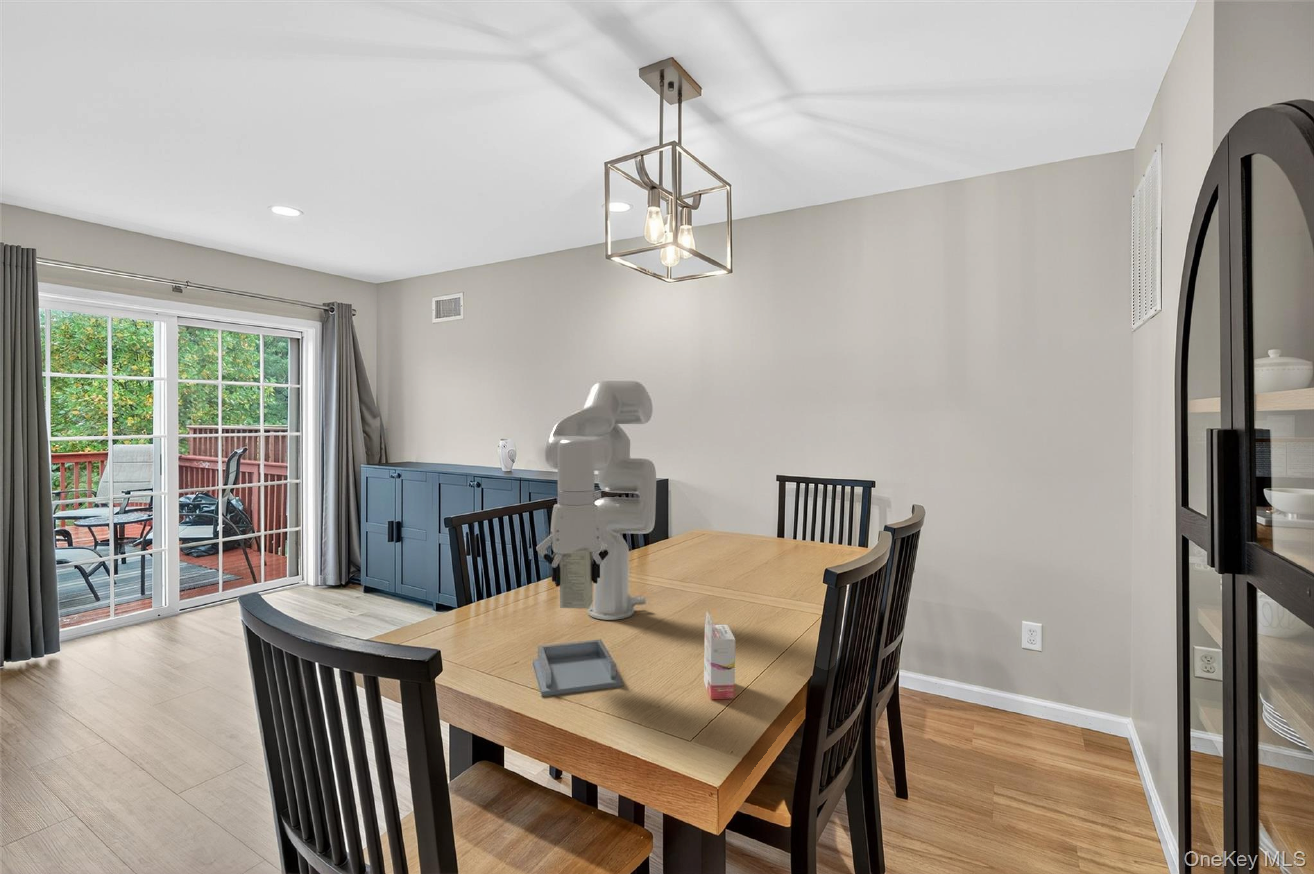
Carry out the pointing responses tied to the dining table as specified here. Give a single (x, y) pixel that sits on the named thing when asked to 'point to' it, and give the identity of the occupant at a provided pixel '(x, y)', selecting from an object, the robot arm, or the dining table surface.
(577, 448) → the robot arm
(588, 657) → the tray
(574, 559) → the skincare box
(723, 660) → the ink cartridge box
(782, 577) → the dining table surface
